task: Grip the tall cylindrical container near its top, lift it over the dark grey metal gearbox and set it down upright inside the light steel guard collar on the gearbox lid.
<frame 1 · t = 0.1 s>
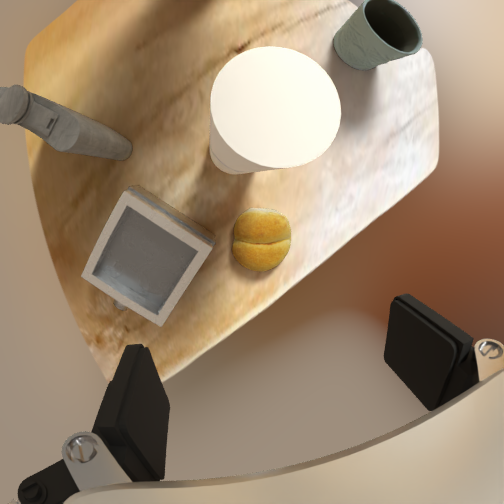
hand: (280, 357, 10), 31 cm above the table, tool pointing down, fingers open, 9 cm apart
hip flask: (89, 132, 33), on the table
cylindrical container: (235, 149, 37), on the table
bread roll: (259, 236, 41), on the table
gearbox: (152, 248, 39), on the table
green cup: (355, 50, 35), on the table
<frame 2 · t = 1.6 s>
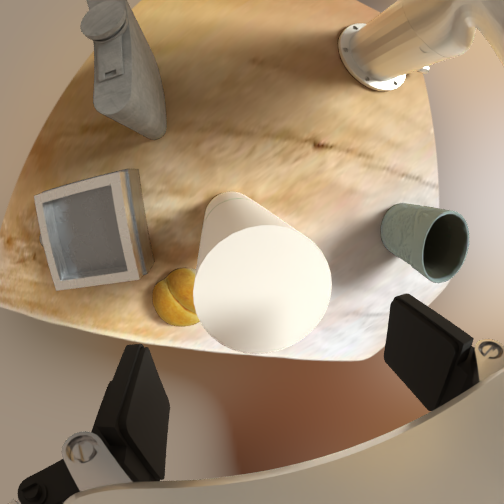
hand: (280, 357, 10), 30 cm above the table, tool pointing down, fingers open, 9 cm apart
hip flask: (149, 86, 31), on the table
cylindrical container: (231, 217, 38), on the table
bread roll: (184, 293, 40), on the table
gearbox: (103, 224, 35), on the table
green cup: (398, 229, 42), on the table
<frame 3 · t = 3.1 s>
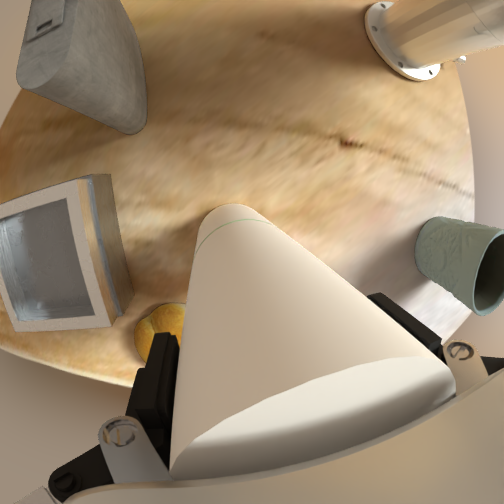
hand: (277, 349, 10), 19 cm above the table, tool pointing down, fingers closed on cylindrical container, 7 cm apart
hip flask: (126, 67, 22), on the table
cylindrical container: (232, 238, 29), on the table, touching gripper
bread roll: (175, 332, 31), on the table
gearbox: (69, 246, 26), on the table
green cup: (433, 247, 33), on the table
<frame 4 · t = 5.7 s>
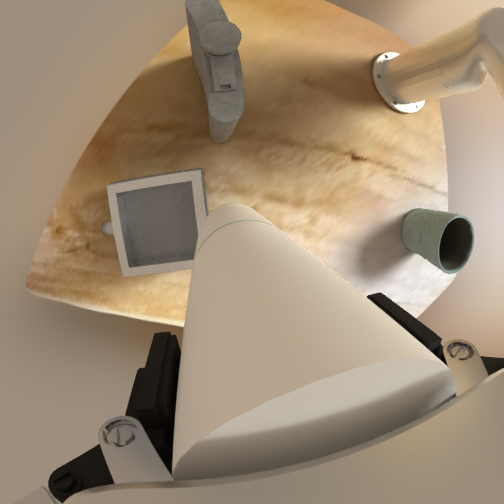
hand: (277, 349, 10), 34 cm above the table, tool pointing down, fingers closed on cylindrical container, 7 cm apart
hip flask: (214, 95, 38), on the table
cylindrical container: (233, 238, 29), point 15 cm above the table, touching gripper
gearbox: (166, 217, 41), on the table
green cup: (415, 230, 49), on the table
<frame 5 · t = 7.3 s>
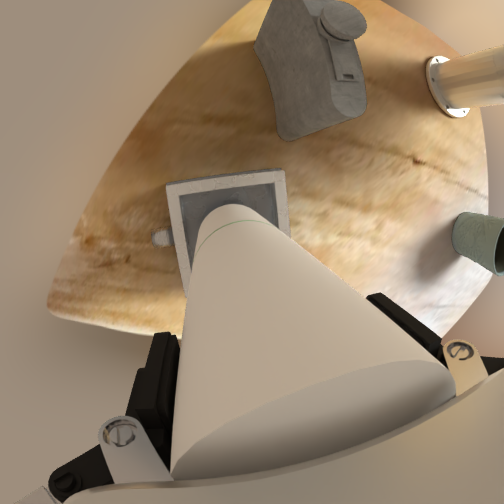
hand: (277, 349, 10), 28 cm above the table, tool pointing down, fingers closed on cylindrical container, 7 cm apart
hip flask: (279, 86, 33), on the table
cylindrical container: (233, 238, 29), point 9 cm above the table, touching gripper
gearbox: (228, 223, 37), on the table
green cup: (462, 233, 44), on the table
when the fingers open (26 cm above the table, at t = 8.7 s): cylindrical container drops 1 cm, resting on gearbox.
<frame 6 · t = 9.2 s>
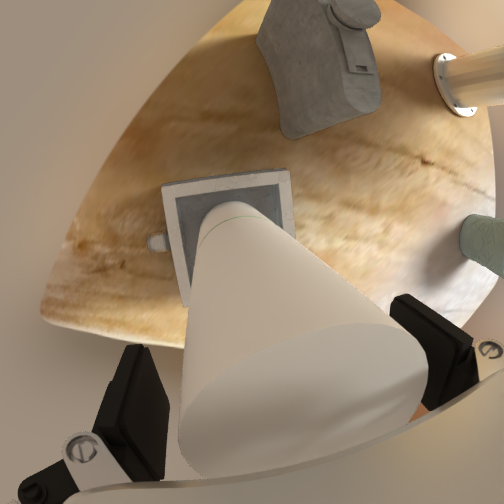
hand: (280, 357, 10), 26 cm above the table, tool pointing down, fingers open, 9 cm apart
hip flask: (282, 82, 31), on the table
cylindrical container: (233, 234, 30), point 5 cm above the table, touching gearbox
gearbox: (228, 227, 35), on the table
green cup: (470, 236, 42), on the table
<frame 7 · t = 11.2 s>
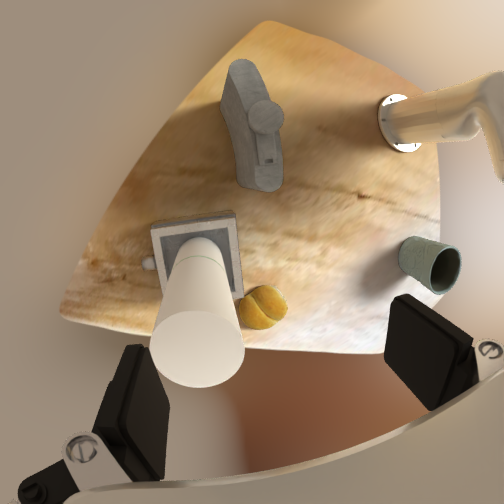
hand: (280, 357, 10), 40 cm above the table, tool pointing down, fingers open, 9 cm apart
hip flask: (239, 141, 45), on the table
cylindrical container: (199, 259, 44), point 5 cm above the table, touching gearbox
bread roll: (262, 304, 53), on the table
gearbox: (199, 252, 48), on the table
green cup: (410, 254, 56), on the table
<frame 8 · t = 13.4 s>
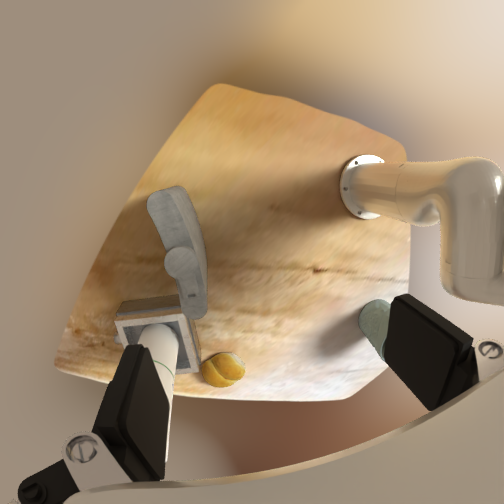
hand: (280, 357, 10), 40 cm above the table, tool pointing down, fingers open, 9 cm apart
hip flask: (190, 229, 48), on the table
cylindrical container: (159, 339, 47), point 5 cm above the table, touching gearbox
bread roll: (223, 365, 57), on the table
gearbox: (162, 327, 52), on the table
green cup: (372, 316, 59), on the table
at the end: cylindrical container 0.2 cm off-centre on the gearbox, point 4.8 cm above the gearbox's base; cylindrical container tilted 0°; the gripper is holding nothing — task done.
